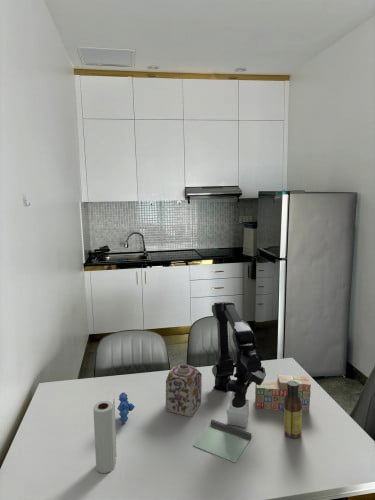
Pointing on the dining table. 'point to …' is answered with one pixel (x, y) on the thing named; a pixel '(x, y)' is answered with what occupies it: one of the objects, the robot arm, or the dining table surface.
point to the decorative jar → (183, 390)
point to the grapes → (124, 407)
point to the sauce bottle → (292, 411)
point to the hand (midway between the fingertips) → (243, 399)
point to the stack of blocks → (281, 393)
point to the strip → (231, 429)
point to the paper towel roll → (105, 436)
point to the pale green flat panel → (221, 444)
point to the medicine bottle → (238, 410)
